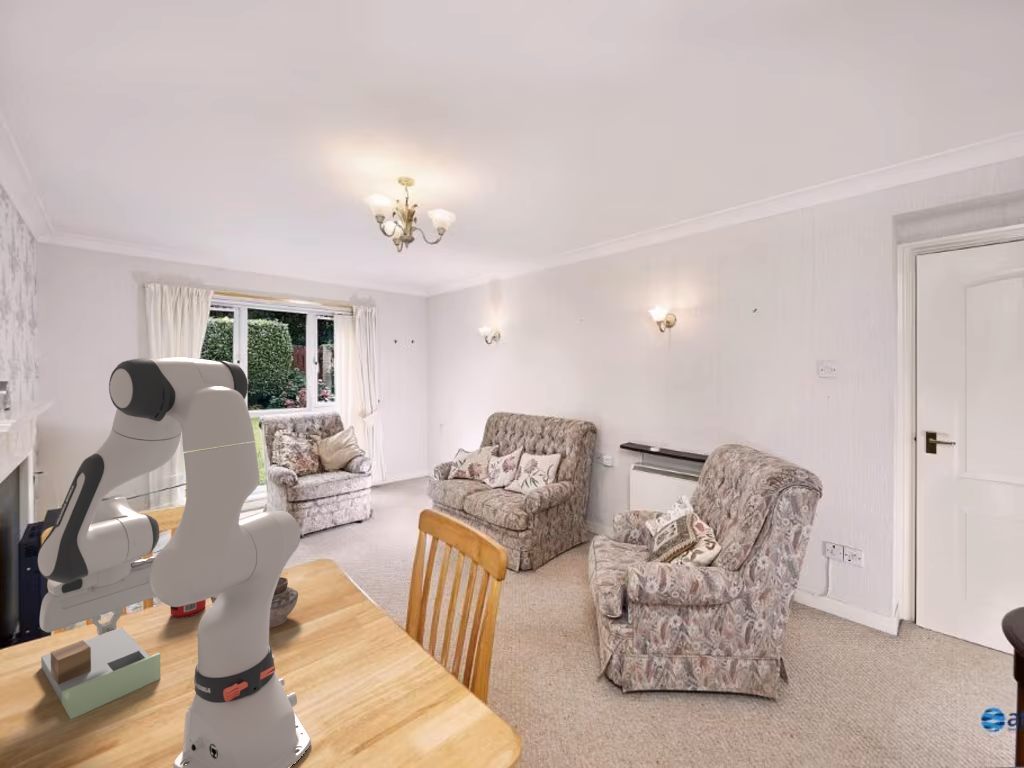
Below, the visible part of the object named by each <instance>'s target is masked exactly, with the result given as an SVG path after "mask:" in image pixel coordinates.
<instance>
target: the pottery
mask: <svg viewBox="0 0 1024 768" xmlns="http://www.w3.org/2000/svg"><path fill="white" fill-rule="evenodd" d="M288 583H289V581H288V578H287V577H283V576H280V578H279V581H278V583H277V586H276V589H275V592H274V595H273V599H272V603H271V608H270V621H269V629H270V628H276V627H279V626H281V625H283V624H285V623H286V622H287V621H288V616H289V615H290V614H291V612H292V611H293V610H294V609H295V607H296V605H297V602H298V599H299V592H298V591H297V590H296V589H294V588H291V587H290V586H289V587H288ZM218 595H219V594H217V595H215V596H213V597H211V598H210V600H211V603H212V604H213V603H214V601H215V600H216V598H217V597H218Z"/></svg>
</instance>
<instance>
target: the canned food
mask: <svg viewBox="0 0 1024 768" xmlns="http://www.w3.org/2000/svg"><path fill="white" fill-rule="evenodd" d="M206 600H207V599H205V600H202V601H199V602H195V603H191V604H187V605H183V606H179V607H172V606H170V615H171V617H172V618H174V619H184V618H189V617H192V616H195V615H197V614H199V613H201V612H203V610H204V609H205V607H206V603H207V601H206Z"/></svg>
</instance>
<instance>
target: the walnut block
mask: <svg viewBox="0 0 1024 768" xmlns="http://www.w3.org/2000/svg"><path fill="white" fill-rule="evenodd" d="M84 641H85V640H79V641H76V642H73V643H71V644H69V645H65V646H63V647H61V648H58V649H56V650H51V651H50V653H51V676H52V677H53V679H54V680H55V681H56V682H57V684H61V683H63V682H66V681H68V680H70V679H73V678H75V677H77V676H80V675H82V674H85V673H87V672H89V671H91V648H90V647H89V646H88V645H87V644H86V643H85V642H84Z"/></svg>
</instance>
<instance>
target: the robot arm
mask: <svg viewBox="0 0 1024 768" xmlns="http://www.w3.org/2000/svg"><path fill="white" fill-rule="evenodd" d="M248 390H249V382H248V378H247V375H246V374H245V371H244V370H243V369H242V368H241V366H239V365H238V364H236V363H233V362H229V361H225V360H219V359H215V360H208V359H202V358H201V359H198V358H188V357H162V358H159V357H158V358H149V357H141V358H139V357H138V358H132V359H128V360H125V361H122V362H119V364H118V365H116V367H114V369H113V371H112V372H111V374H110V378H109V382H108V391H109V392H108V393H109V397H110V400H111V402H112V404H113V406H114V407H115V408H116V411H115V414H114V418H113V422H112V426H111V427H112V428H111V431H110V433H109V435H108V436H107V438H106V440H105V441H104V443H103V444H102V445H101V446H100V447H99V449H97V451H95V453H93V454H91V455H89V456H88V457H86V458H84V459H83V461H82V463H81V464H80V465H79V468H78V469H77V471H76V474H74V475H75V476H74V477H73V479H72V482H71V484H70V486H69V488H68V491H67V494H66V495H65V498H64V500H63V502H62V505H61V508H60V509H59V511H58V513H57V514H58V515H57V517H56V519H55V522H54V524H53V526H52V528H51V530H50V531H49V533H48V535H47V536H46V537H45V539H44V540H43V542H42V544H41V546H40V547H39V550H38V553H37V567H38V571H39V573H40V575H41V577H43V578H45V579H47V583H46V584H47V586H46V587H47V590H48V591H47V593H46V594H45V595H44V597H43V598H42V601H41V604H40V611H39V627H40V629H41V630H42V631H44V632H46V633H52V632H54V631H58V630H60V629H64V628H66V627H67V628H68V627H69V626H73V625H75V624H79V623H82V622H84V621H87V620H89V621H90V622H91V623H92V624H93V625H94V626H95V627H96V633H97V635H98V636H100V635H103V634H105V633H108V632H111V631H114V630H117V623H118V621H119V619H120V618H121V616H122V614H123V608H126V607H129V606H132V605H135V604H138V603H142V602H144V601H147V600H151V599H153V598H157V599H158V600H159V601H160V602H161V603H163V604H165V605H168V606H170V607H171V606H172V607H179V606H183V605H187V604H191V603H195V602H199V601H202V600H205V599H206V600H208V599H209V600H210V599H211V597H213V596H215V595H217V594H219V595H218V597H217V598H216V600H215V601H214V603H212V604H211V605H210V606H209V607H208V608H207V610H206V611H205V613H204V614H203V615H202V617H201V619H200V621H199V622H198V623H199V624H198V625H197V626H198V627H197V664H196V667H195V670H194V677H193V683H194V691H195V695H194V697H193V699H192V702H191V704H190V705H189V706H188V708H187V710H186V712H185V718H184V730H183V731H184V732H183V744H182V745H183V747H182V750H181V752H180V753H179V754H178V756H177V757H176V758H175V760H174V761H173V764H172V765H173V766H172V768H288V767H290V766H291V765H293V764H294V763H295V762H296V761H298V760H299V759H300V758H301V756H302V755H303V754H304V753H305V751H306V750H307V749H308V748H309V749H310V747H311V745H310V744H312V740H311V737H310V734H309V733H308V732H307V730H306V729H305V726H304V725H303V724H302V722H301V720H300V719H299V717H298V715H297V714H296V712H295V711H294V708H293V707H295V706H296V705H297V703H298V699H297V694H296V692H295V691H292V692H290V693H288V694H287V693H286V691H285V688H284V686H285V678H284V677H282V678H279V676H278V674H277V672H276V666H275V662H274V660H275V658H274V654H273V650H272V647H271V645H270V628H269V621H270V608H271V603H272V599H273V595H274V592H275V589H276V586H277V583H278V581H279V578H280V577H282V576H281V575H282V573H283V570H284V569H285V567H286V565H287V563H288V561H289V559H291V557H292V556H293V555H294V553H296V551H297V550H298V548H299V546H300V542H301V541H300V540H301V530H300V525H299V524H298V521H297V519H296V518H295V517H294V516H293V515H292V514H291V513H289V512H287V511H285V510H268V511H262V512H261V511H260V512H257V513H254V514H249V515H247V516H245V517H242V518H240V516H241V512H242V508H243V507H244V504H245V502H246V501H247V500H248V498H249V497H250V495H251V494H253V492H255V490H256V489H257V487H259V486H258V485H259V484H260V479H261V478H260V470H259V469H260V468H259V464H258V463H259V462H258V461H259V460H258V455H257V445H256V439H255V434H254V428H253V423H252V419H251V415H250V413H249V410H248V409H249V408H248V406H247V404H246V400H245V399H246V397H247V394H248ZM181 437H182V439H181ZM180 439H181V440H180ZM180 441H182V452H183V459H184V468H185V469H184V471H185V483H186V485H185V486H186V496H185V497H186V498H185V504H184V509H183V512H182V515H181V518H180V520H179V523H178V525H177V527H176V529H175V532H173V534H172V537H171V538H170V540H169V541H168V542H167V543H166V545H165V546H164V547H163V548H161V550H160V551H159V552H158V553H157V555H156V556H151V557H150V556H149V557H147V558H145V559H140V558H143V557H146V556H147V555H149V554H151V553H152V552H153V550H154V549H155V548H156V546H157V544H158V543H159V539H160V527H159V522H158V521H157V520H156V519H155V518H154V517H152V516H150V515H149V514H146V513H140V512H138V511H136V510H134V509H133V508H132V507H131V506H130V505H129V503H128V499H127V497H126V496H123V495H113V496H108V497H106V496H107V495H108V494H109V493H111V492H112V491H113V490H115V489H117V488H118V487H120V486H122V485H123V484H127V482H128V483H129V481H133V480H134V479H136V478H139V477H142V476H144V475H146V474H149V473H151V472H154V471H155V470H157V469H160V468H161V467H162V466H165V464H167V463H168V462H169V461H171V459H172V458H173V456H174V455H175V454H176V452H177V449H178V447H179V444H180ZM138 559H140V560H138ZM134 560H135V561H134ZM108 613H112V614H113V615H112V616H111V619H110V620H109V621H106V622H103V623H100V622H99V621H101V620H102V617H101V616H102V615H106V614H108ZM309 746H310V747H309ZM309 749H308V750H309ZM308 750H307V751H308ZM297 752H298V753H297ZM305 754H306V753H305ZM305 754H304V755H305ZM301 759H302V758H301ZM301 759H300V760H301ZM300 760H299V761H300ZM299 761H298V762H299ZM185 764H187V765H185ZM293 766H294V765H293Z"/></svg>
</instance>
